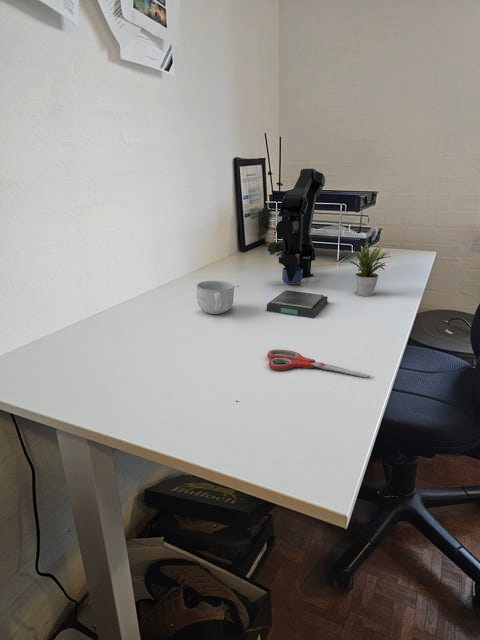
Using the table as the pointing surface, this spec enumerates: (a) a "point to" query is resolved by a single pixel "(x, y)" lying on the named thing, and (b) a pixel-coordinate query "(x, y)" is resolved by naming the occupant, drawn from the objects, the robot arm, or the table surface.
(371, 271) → the house plant
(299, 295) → the scale pan
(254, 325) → the table surface
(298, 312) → the scale
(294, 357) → the scissors
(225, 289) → the teacup
